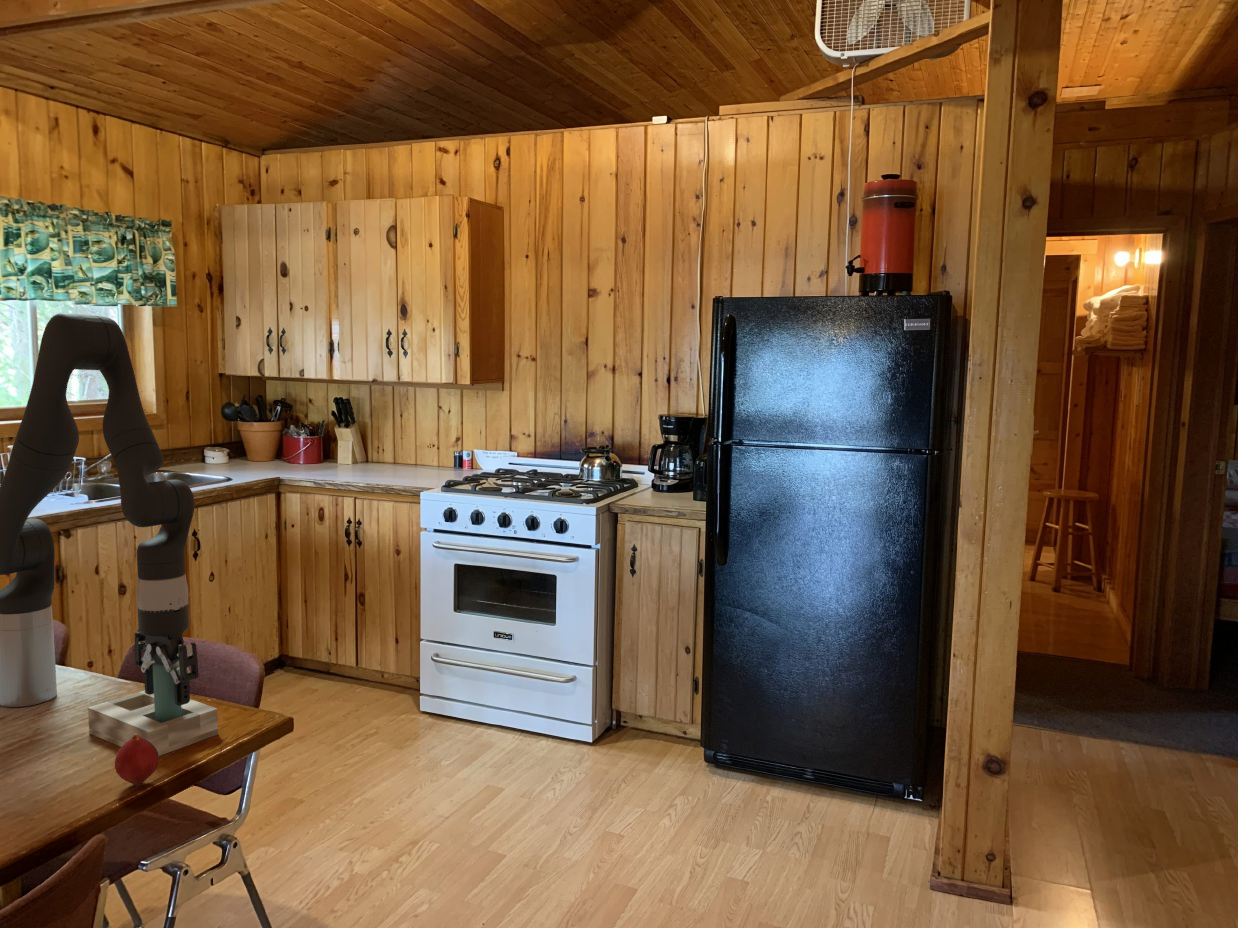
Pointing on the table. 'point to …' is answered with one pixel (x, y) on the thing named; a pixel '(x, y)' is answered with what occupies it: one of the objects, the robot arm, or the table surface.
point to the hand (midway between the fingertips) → (167, 698)
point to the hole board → (151, 722)
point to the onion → (136, 760)
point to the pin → (164, 694)
